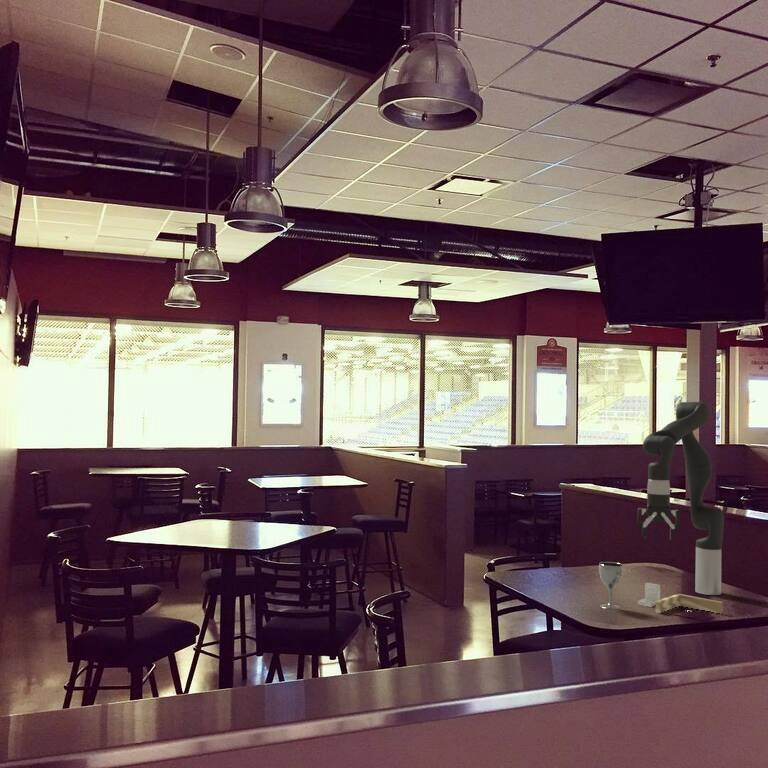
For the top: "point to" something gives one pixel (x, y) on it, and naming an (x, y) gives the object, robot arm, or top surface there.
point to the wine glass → (610, 579)
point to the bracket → (650, 595)
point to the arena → (688, 603)
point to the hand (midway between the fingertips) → (658, 538)
